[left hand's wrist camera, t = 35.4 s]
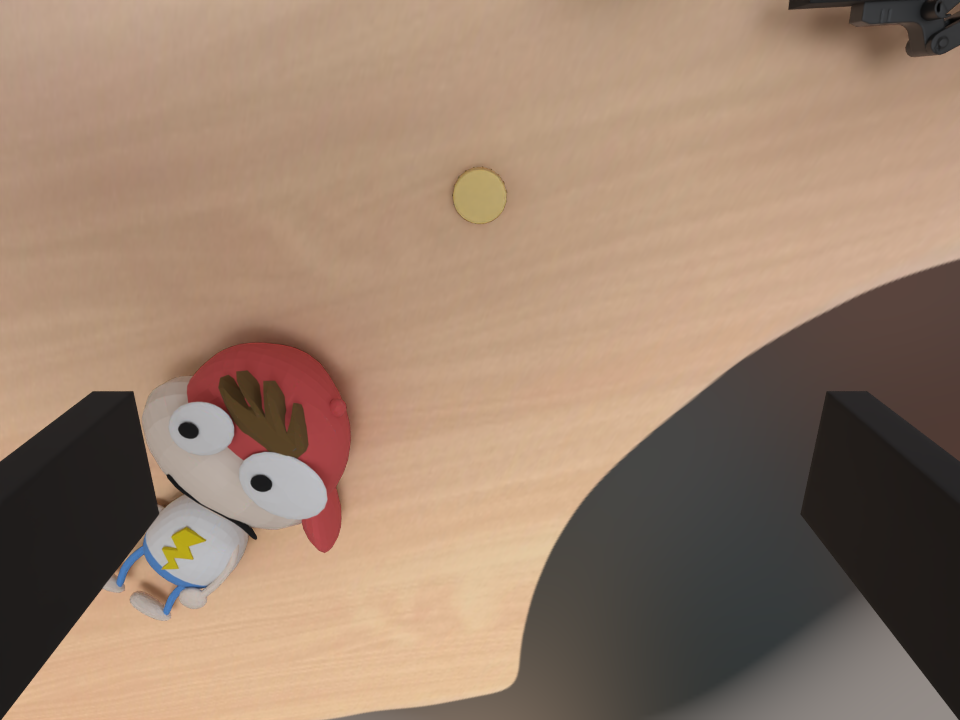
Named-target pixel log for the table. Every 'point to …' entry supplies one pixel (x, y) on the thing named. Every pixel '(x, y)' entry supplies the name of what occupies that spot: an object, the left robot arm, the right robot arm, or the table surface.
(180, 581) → the toy
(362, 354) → the table surface
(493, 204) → the cap
